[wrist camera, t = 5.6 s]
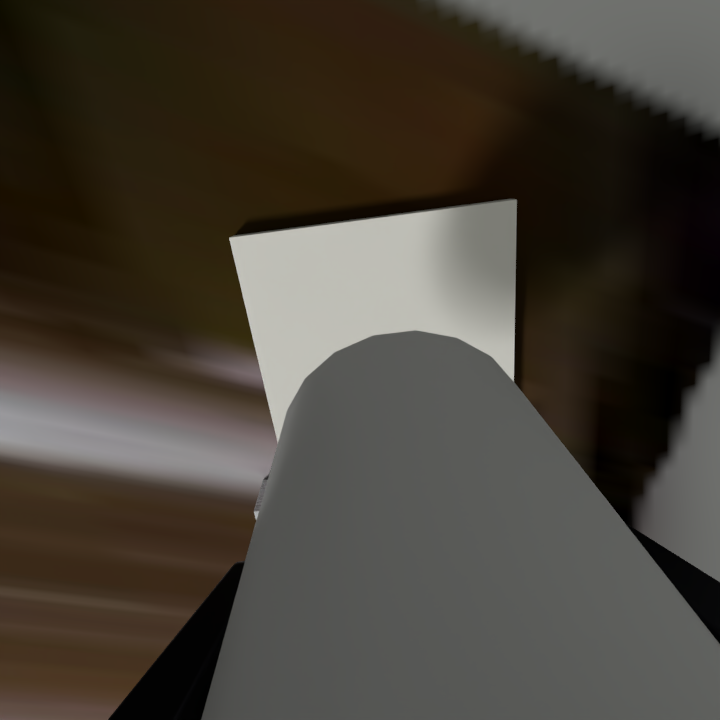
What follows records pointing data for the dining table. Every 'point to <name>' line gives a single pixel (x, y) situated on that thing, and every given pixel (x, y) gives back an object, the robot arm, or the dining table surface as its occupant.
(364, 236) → the tray
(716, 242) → the dining table surface
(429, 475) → the can
